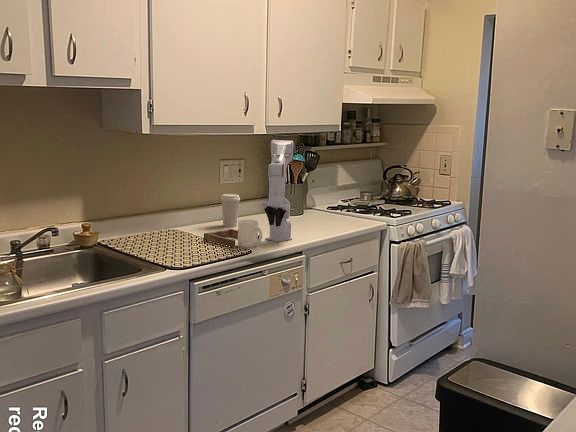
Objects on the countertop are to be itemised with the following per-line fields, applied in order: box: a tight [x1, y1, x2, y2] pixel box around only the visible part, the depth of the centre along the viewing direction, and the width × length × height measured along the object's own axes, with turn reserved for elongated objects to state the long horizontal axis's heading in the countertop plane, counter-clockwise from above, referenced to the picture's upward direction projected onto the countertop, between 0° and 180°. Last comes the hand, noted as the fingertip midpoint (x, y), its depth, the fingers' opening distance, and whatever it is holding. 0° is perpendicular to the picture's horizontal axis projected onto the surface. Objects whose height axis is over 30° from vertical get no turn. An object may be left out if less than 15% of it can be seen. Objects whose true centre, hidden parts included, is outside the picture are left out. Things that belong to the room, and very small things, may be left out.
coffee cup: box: [220, 193, 241, 228], centre depth 282 cm, size 10×10×15 cm
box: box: [203, 228, 259, 248], centre depth 249 cm, size 16×18×3 cm
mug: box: [237, 218, 264, 248], centre depth 241 cm, size 12×8×10 cm
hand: (274, 225), depth 239 cm, fingers open, 3 cm apart
